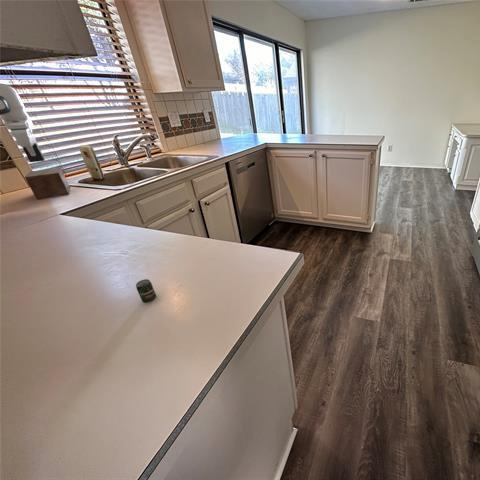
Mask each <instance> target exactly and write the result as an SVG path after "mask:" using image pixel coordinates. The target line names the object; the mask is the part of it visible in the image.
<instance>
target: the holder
mask: <svg viewBox="0 0 480 480" xmlns="http://www.w3.org/2000/svg"><path fill="white" fill-rule="evenodd" d="M32 147H33V149H34V151H35V153H36V156H31V155H30V153H29V151H28V150H27V149H26V147H22V149H23V151H24V154H25V155H26V157H27V159H28V161H29V163H37V162H38V163H39V162H44V161H46V159H45V157H44V154H43V152H42V151H41V149H40V146H39V144H38V142H37V143H34V145H33V146H32Z"/></svg>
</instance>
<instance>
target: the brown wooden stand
mask: <svg viewBox="0 0 480 480" xmlns="http://www.w3.org/2000/svg"><path fill="white" fill-rule="evenodd" d="M24 179H25V181H26V183H27V184H28V186H29V188H30V189H31V191H32V194H33V195H34V197H35V199H36V200H44V199H50V197H51V198H56V197H63V196H69V195H70V192H71V185H70V184H69V182H68V180H67V178H66V175H65V173H64V172H63V169H62V167H56V168H49V169H41V170H32V171H28V173H26V175H25V176H24Z"/></svg>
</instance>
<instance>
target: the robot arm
mask: <svg viewBox="0 0 480 480" xmlns="http://www.w3.org/2000/svg"><path fill="white" fill-rule="evenodd" d="M0 117H1V119H2V122H3V123H4V125H5V127H6V129H7V130H9V131H10V132H11V134H12V136H13V137H14V139H15V141H16V142H17V144H18V145H19V146H20V147H21V148H23V147H26V149H27V150H28V151H29V153H30V155H31V156H36V153H35V151H34V149H33V147H32V146H33V145H34V143H37V144H38V142H37V139H36V137H35V135H34V133H33V129H32V128H35V126H34V123H33V121H32V119H31V117H30V116H29V114H28V113H27V112H26V108H25V105H24V103H23V101H22V98H21V97H20V95H19V94H18V92H17V91H16V90H15V88H14V87H12V86H11V85H8V84H5V83H0Z"/></svg>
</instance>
